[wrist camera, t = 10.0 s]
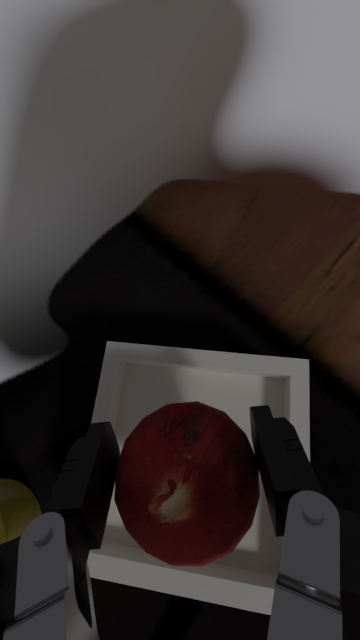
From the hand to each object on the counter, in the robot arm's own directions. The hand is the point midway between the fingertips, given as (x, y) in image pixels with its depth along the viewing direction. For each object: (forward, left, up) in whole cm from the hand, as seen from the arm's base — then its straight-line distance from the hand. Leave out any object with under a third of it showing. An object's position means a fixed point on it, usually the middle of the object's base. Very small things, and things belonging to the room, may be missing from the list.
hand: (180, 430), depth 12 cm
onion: (0, +2, -4) cm, 5 cm away
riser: (0, +2, -11) cm, 11 cm away
